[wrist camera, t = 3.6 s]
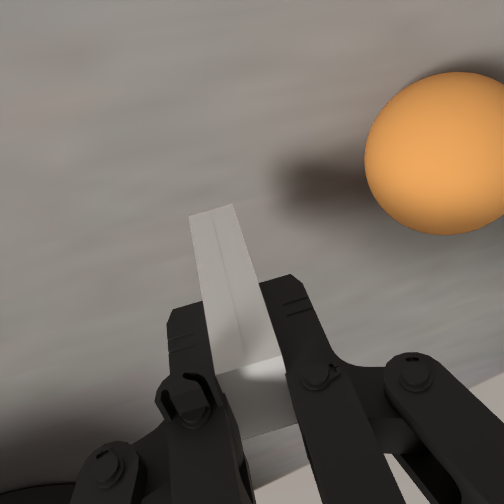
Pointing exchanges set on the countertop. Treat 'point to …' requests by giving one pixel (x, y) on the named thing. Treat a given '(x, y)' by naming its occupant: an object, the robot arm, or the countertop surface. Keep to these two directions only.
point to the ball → (440, 154)
